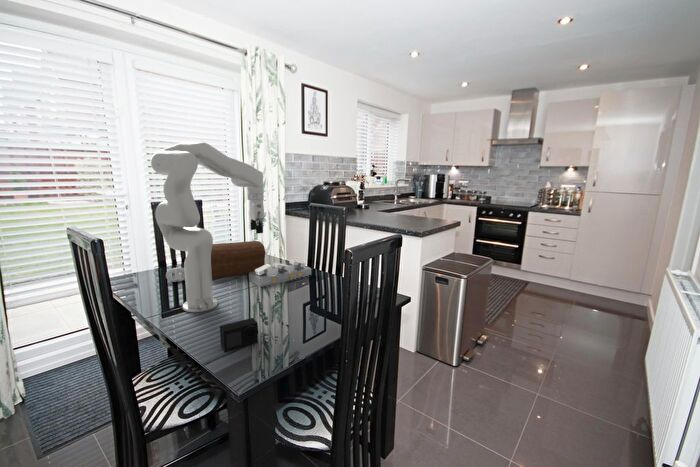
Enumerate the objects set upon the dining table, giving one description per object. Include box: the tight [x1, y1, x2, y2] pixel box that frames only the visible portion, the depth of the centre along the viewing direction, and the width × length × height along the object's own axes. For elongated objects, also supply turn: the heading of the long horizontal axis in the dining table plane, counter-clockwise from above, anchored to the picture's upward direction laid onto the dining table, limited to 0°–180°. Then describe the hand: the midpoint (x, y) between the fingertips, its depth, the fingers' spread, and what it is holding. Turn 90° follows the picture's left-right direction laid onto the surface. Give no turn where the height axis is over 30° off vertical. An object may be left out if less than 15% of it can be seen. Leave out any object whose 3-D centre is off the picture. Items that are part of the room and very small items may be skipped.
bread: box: [211, 240, 266, 280], centre depth 169 cm, size 18×30×16 cm, turn 120°
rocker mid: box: [272, 262, 290, 270], centre depth 161 cm, size 5×7×2 cm, turn 131°
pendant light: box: [165, 253, 185, 283], centre depth 151 cm, size 9×9×30 cm
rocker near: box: [255, 263, 273, 275], centre depth 155 cm, size 5×7×2 cm, turn 131°
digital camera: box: [219, 317, 259, 353], centre depth 98 cm, size 10×5×7 cm, turn 127°
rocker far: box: [288, 259, 306, 267], centre depth 167 cm, size 5×7×2 cm, turn 131°
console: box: [248, 264, 312, 288], centre depth 162 cm, size 12×29×5 cm, turn 131°
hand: (256, 231), depth 156 cm, fingers open, 9 cm apart
